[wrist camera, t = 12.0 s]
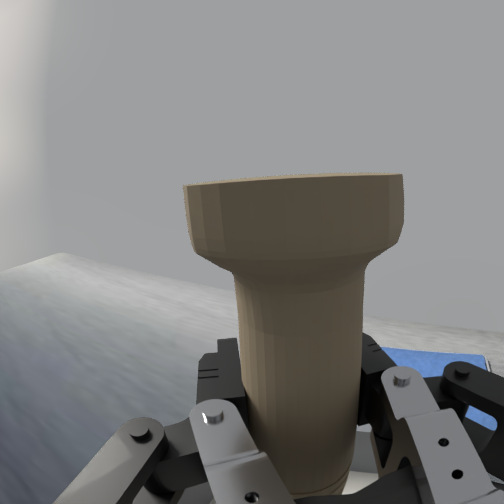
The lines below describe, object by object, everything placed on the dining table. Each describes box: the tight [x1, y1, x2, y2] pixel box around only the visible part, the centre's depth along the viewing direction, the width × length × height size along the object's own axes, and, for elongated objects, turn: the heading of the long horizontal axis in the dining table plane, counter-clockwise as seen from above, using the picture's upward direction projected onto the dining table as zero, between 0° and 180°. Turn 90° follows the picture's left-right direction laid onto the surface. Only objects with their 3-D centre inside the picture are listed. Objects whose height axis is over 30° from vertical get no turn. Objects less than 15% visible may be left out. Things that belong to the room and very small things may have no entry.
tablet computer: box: [380, 346, 497, 431], centre depth 24 cm, size 19×13×1 cm, turn 62°
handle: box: [183, 173, 404, 499], centre depth 9 cm, size 5×6×15 cm
